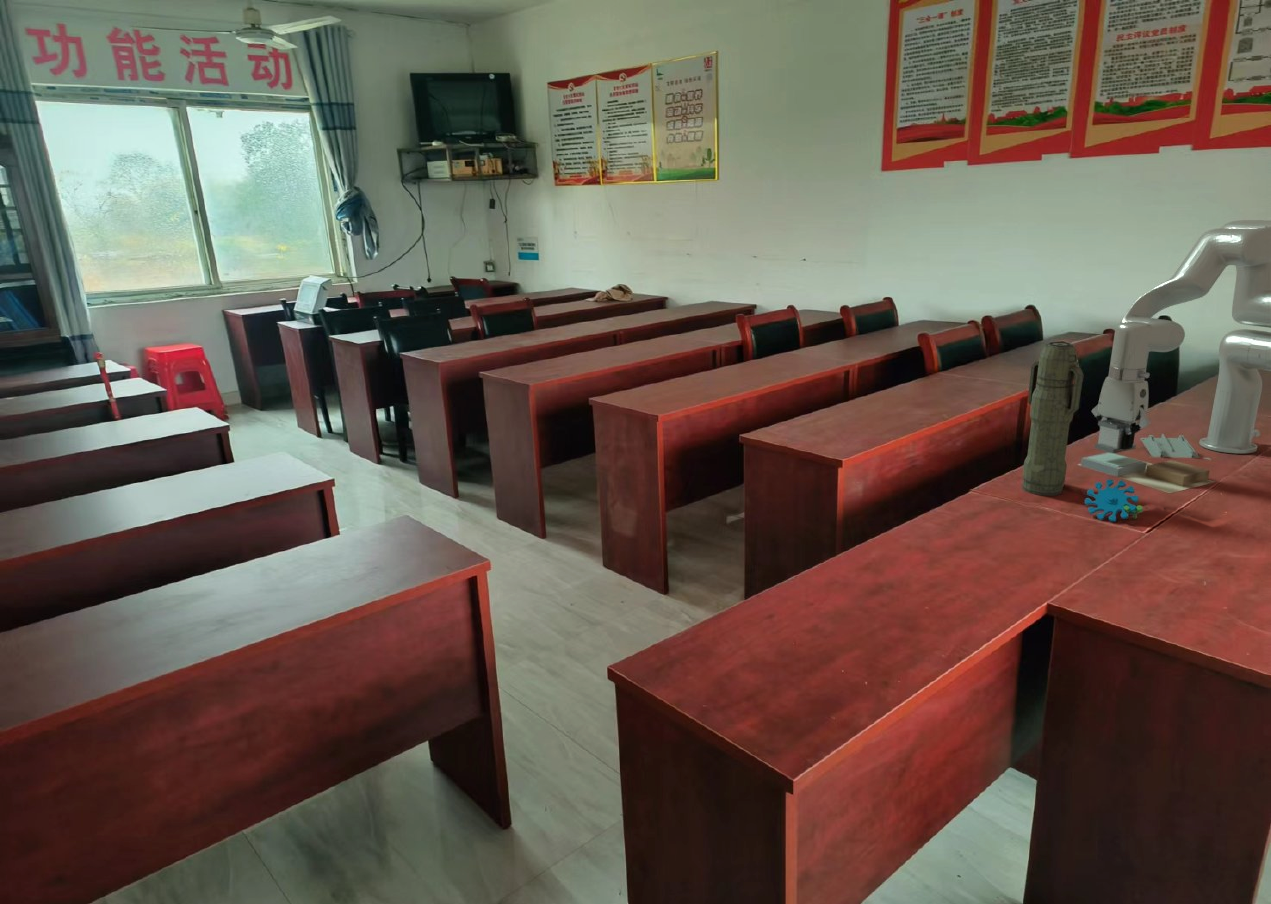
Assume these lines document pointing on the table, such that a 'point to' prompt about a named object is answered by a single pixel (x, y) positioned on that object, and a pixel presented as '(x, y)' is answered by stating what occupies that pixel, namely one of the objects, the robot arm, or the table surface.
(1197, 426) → the table surface
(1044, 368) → the thermos
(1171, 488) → the board
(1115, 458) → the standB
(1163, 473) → the stand
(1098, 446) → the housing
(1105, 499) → the gear
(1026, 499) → the table surface
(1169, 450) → the metal bracket
